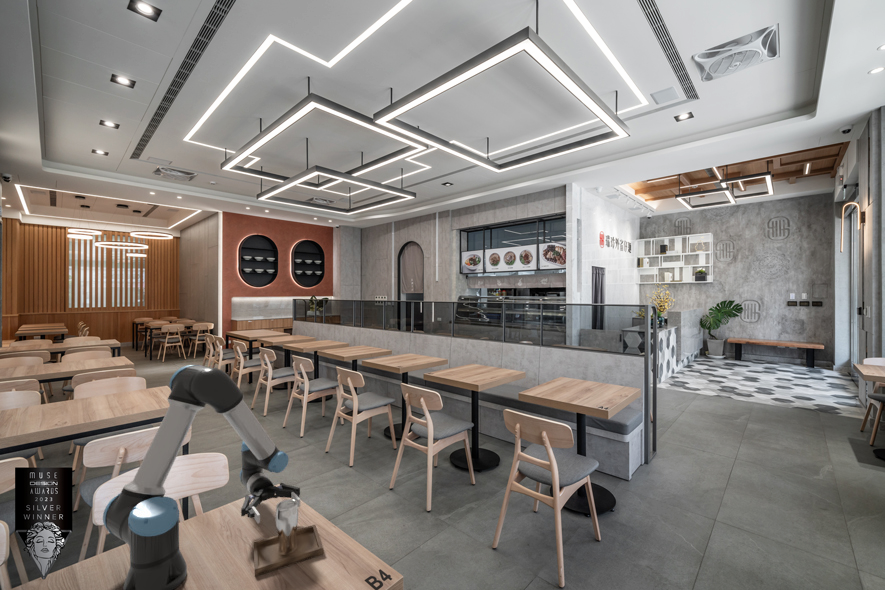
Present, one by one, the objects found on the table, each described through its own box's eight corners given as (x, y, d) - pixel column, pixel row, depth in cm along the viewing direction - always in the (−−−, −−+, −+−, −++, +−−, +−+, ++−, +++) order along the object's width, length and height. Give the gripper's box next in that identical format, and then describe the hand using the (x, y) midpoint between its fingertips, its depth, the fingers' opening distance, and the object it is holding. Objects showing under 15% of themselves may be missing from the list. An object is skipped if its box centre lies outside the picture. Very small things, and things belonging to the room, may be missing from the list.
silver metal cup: (291, 557, 123) (290, 511, 122) (271, 555, 124) (270, 509, 124) (302, 543, 129) (302, 499, 129) (284, 541, 131) (283, 497, 130)
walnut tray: (254, 576, 116) (254, 569, 116) (253, 548, 128) (253, 542, 128) (322, 554, 125) (322, 547, 125) (315, 530, 138) (315, 524, 138)
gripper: (292, 484, 156) (314, 507, 140) (224, 509, 139) (240, 537, 124) (292, 466, 156) (314, 487, 140) (223, 489, 139) (239, 514, 123)
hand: (279, 510), depth 132 cm, fingers open, 13 cm apart
